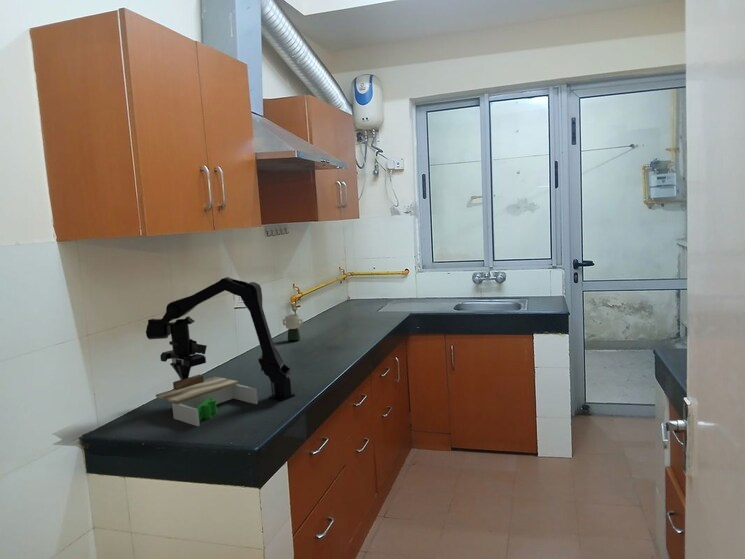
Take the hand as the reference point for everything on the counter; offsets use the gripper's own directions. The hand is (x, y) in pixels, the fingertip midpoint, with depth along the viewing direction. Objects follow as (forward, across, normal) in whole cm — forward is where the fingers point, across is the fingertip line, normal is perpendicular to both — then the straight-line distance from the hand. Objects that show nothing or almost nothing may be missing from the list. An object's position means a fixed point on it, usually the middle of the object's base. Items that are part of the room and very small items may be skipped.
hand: (185, 382), depth 180 cm
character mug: (+7, +38, -84) cm, 92 cm away
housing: (+7, -18, 0) cm, 19 cm away
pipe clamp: (+7, -18, +4) cm, 20 cm away
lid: (+1, -8, 0) cm, 8 cm away
